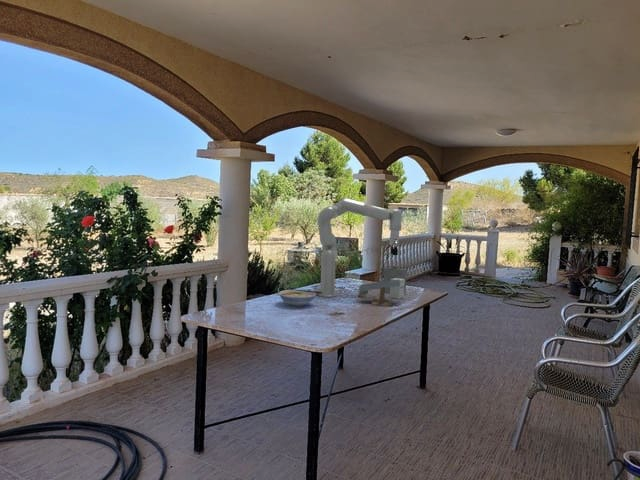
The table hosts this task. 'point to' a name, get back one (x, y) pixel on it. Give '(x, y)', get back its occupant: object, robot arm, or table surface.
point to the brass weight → (360, 294)
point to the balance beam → (378, 286)
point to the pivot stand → (382, 299)
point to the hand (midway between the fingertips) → (394, 254)
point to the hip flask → (394, 276)
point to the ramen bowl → (297, 296)
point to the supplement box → (397, 289)
